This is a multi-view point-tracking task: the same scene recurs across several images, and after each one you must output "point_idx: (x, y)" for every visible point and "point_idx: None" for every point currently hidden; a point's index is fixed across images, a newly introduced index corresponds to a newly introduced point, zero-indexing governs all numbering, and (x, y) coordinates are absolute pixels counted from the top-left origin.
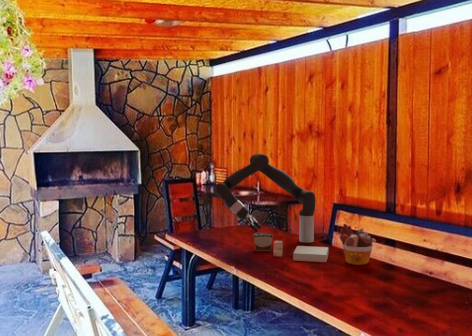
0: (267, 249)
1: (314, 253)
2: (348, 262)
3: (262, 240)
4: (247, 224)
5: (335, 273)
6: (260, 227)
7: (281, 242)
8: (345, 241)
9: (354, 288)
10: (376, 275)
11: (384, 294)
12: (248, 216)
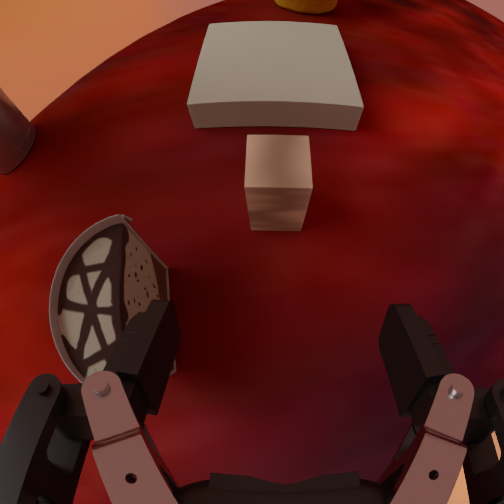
0: (165, 289)
1: (330, 46)
2: (324, 11)
3: None
4: (487, 468)
5: (434, 50)
6: (169, 313)
7: (297, 135)
8: None
9: (492, 55)
10: (397, 4)
11: (484, 34)
12: None
